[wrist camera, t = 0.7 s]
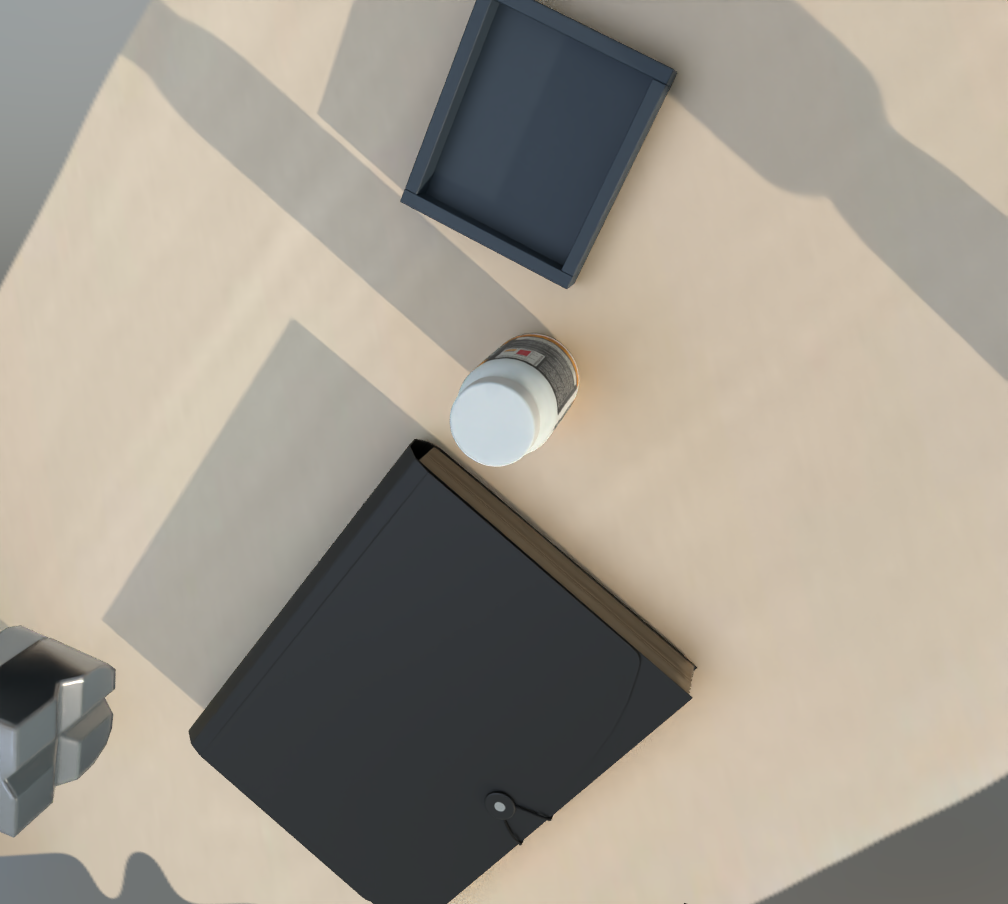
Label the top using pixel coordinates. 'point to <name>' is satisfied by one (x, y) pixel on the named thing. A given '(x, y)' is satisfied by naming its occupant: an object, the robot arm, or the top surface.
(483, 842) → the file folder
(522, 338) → the pill bottle
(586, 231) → the tray
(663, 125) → the top surface
